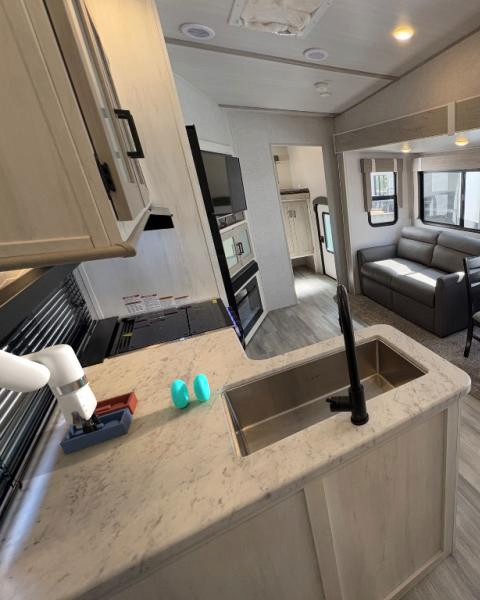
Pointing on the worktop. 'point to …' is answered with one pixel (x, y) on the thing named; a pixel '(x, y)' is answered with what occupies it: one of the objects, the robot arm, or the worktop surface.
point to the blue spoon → (100, 426)
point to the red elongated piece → (108, 407)
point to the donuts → (181, 391)
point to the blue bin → (97, 432)
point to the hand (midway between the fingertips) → (94, 432)
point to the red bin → (127, 399)
